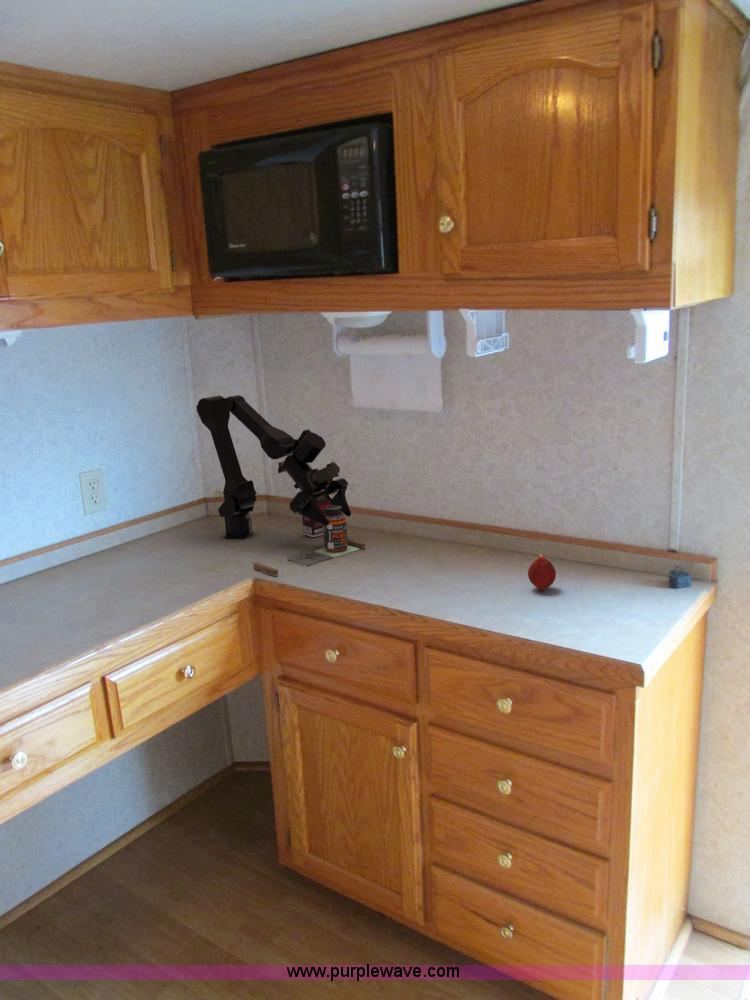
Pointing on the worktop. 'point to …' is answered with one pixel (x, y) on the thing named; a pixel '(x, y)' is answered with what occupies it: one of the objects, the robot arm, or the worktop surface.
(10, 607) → the worktop surface
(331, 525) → the supplement bottle
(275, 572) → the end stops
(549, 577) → the onion
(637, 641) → the worktop surface
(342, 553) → the pad
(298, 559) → the pads
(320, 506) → the supplement box
